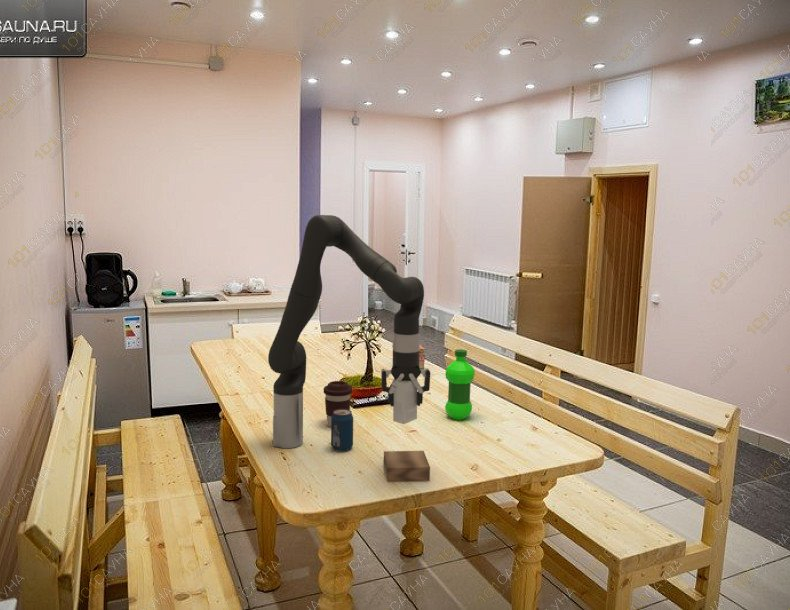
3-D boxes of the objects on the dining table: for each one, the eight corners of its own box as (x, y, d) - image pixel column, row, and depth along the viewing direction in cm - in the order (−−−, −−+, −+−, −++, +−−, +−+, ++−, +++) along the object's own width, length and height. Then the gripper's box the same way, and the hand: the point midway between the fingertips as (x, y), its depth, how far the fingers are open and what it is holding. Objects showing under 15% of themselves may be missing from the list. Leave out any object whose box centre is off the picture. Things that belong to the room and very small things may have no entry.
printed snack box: (393, 363, 306) (394, 338, 304) (405, 362, 308) (406, 338, 306) (411, 375, 286) (412, 348, 284) (424, 374, 289) (425, 347, 287)
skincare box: (405, 416, 184) (406, 376, 182) (417, 419, 181) (418, 378, 179) (392, 421, 179) (392, 380, 177) (403, 424, 176) (404, 383, 174)
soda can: (353, 444, 203) (353, 408, 201) (352, 452, 196) (353, 415, 194) (331, 443, 203) (332, 408, 201) (330, 452, 196) (330, 415, 194)
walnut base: (387, 481, 176) (387, 468, 176) (383, 464, 188) (383, 451, 187) (429, 480, 178) (430, 467, 177) (423, 463, 189) (423, 450, 189)
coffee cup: (325, 431, 214) (326, 388, 212) (321, 421, 223) (321, 380, 221) (354, 428, 217) (355, 386, 214) (348, 419, 226) (349, 378, 224)
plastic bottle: (474, 414, 234) (477, 348, 230) (469, 423, 224) (472, 355, 220) (447, 411, 237) (449, 346, 233) (441, 420, 227) (444, 352, 223)
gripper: (381, 351, 172) (381, 410, 175) (433, 351, 174) (432, 409, 176) (379, 345, 180) (379, 401, 182) (429, 345, 181) (428, 400, 184)
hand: (405, 405), depth 179 cm, fingers closed on skincare box, 7 cm apart
